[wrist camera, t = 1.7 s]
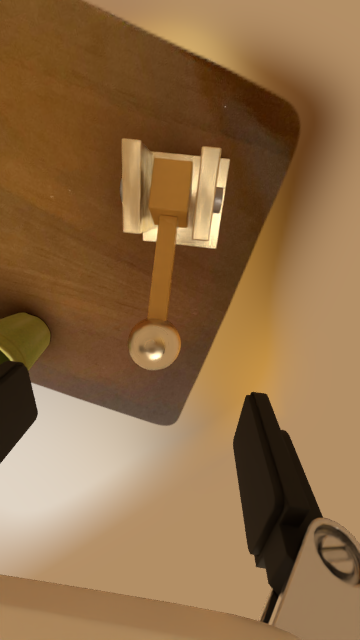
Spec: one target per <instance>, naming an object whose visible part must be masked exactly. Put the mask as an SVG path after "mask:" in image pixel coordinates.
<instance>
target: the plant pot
mask: <svg viewBox="0 0 360 640" xmlns="http://www.w3.org/2000/svg"><path fill="white" fill-rule="evenodd" d="M50 336H51V334H50V331H49V329H48V327H47V325H46V324H45V323H44V322H43V321H42V320H41V319H40V318H38V317H36V316H32V315H29V314H27V313H17V314H14V315H11V316H8V317H5V318H2V319H0V365H1V364H2V363H3V362H5V361H15V362H22V363H23V364H24V365H25V366H26V367H27V369H28V371H29V370H30V368H31V367H32V366H33V364H34V363H35V362H36V361H37V359H38V358H39V357H40V355H41V354H42V353H43V352H44V351H45V349H46V348H47V347H48V345H49V343H50Z"/></svg>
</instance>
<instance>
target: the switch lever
mask: <svg viewBox="0 0 360 640" xmlns="http://www.w3.org/2000/svg"><path fill="white" fill-rule="evenodd" d="M192 178H193V162H192V161H183V160H173V159H162V158H154V162H153V171H152V179H151V188H150V196H149V205H148V207H149V210H150V213H151V216H152V219H153V222H154V224H155V225H158V231H157V240H156V248H155V257H154V265H153V274H152V282H151V291H150V299H149V308H148V316H147V318H146V319H144V320H142V321H140V322H138V323H137V324H136V325H135V326H134V327H133V329H132V330H131V332H130V334H129V337H128V351H129V354H130V356H131V358H132V359H133V360H134V362H135V363H136V364H138V365H139V366H140V367H142V368H145V369H148V370H160V369H163V368H166V367H168V366H169V365H170V364H172V363H173V362H174V361H175V359H176V358H177V356H178V354H179V352H180V347H181V339H180V335H179V333H178V331H177V329H176V328H175V326H174V325H173V324H172V323H171V322H169V321H168V320H167V316H168V308H169V299H170V291H171V282H172V274H173V265H174V257H175V248H176V240H177V232H178V227H180V228H187V226H188V218H189V210H190V201H191V193H192Z"/></svg>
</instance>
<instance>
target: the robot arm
mask: <svg viewBox="0 0 360 640" xmlns="http://www.w3.org/2000/svg"><path fill="white" fill-rule="evenodd" d="M37 414H38V411H37V407H36V403H35V398H34V394H33V390H32V386H31V381H30V377H29V373H28V369H27V367H26V366H25V365H24V364H23V363H22V362H15V361H5V362H3V363H2V364H1V365H0V463H1V462H2V461H3V459H4V458H5V457H6V456H7V455H8V453H9V452H10V451H11V450H12V448H13V447H14V446H15V445H16V443H17V442H18V441H19V440H20V438H21V437H22V436H23V435H24V434H25V432H26V431H27V430H28V429H29V427H30V426H31V425H32V424H33V422H34V421H35V420H36V418H37ZM233 449H234V455H235V462H236V469H237V476H238V483H239V490H240V497H241V503H242V510H243V517H244V524H245V531H246V538H247V544H248V549H249V552H250V554H253V555H254V556H255V562H256V567H260V568H266V572H267V578H268V583H269V584H270V586H271V590H270V593H269V595H268V597H267V600H266V602H265V604H264V607H263V610H262V612H261V615H260V617H259V619H258V621H256V620H252V619H249V618H245V617H241V616H237V615H233V614H228V613H223V612H217V611H212V610H207V609H202V608H197V607H192V606H186V605H181V604H176V603H170V602H164V601H158V600H152V599H146V598H140V597H134V596H128V595H122V594H116V593H110V592H105V591H98V590H93V589H87V588H80V587H74V586H68V585H62V584H56V583H49V582H43V581H37V580H31V579H24V578H19V577H12V576H6V575H0V640H360V544H359V542H358V541H357V540H356V538H355V537H354V536H353V535H352V534H351V533H350V532H349V531H348V530H347V529H346V528H344V527H343V526H341V525H340V524H338V523H337V522H335V521H332V520H330V519H328V518H323V517H322V514H321V512H320V509H319V507H318V504H317V502H316V500H315V497H314V495H313V492H312V490H311V487H310V485H309V483H308V480H307V478H306V475H305V473H304V470H303V468H302V465H301V463H300V460H299V458H298V456H297V453H296V451H295V448H294V446H293V444H292V441H291V439H290V436H289V435H288V433H287V432H286V431H284V430H280V427H279V425H278V422H277V419H276V417H275V414H274V411H273V409H272V406H271V403H270V401H269V398H268V396H267V394H264V393H256V392H252V393H251V395H246V397H245V401H244V404H243V408H242V411H241V415H240V418H239V422H238V426H237V429H236V432H235V436H234V441H233Z"/></svg>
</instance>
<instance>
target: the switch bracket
mask: <svg viewBox="0 0 360 640" xmlns="http://www.w3.org/2000/svg"><path fill="white" fill-rule="evenodd" d="M221 151H222V150H221V148H219V147H208V146H203V147H202V148H201V156H195V155H185V154H174V153H164V152H153V151H149V150H148V148H147V147H146V146H145V145H144V143H143V142H142V141H141V140H136V139H126V138H122V179H121V182H120V197H121V200H122V203H123V232H124V233H134V234H141V233H143V241H149V242H156V240H157V231H158V225H155V224H154V222H153V219H152V216H151V213H150V210H149V207H148V205H149V196H150V188H151V179H152V171H153V162H154V158H162V159H173V160H183V161H192V162H193V178H192V193H191V201H190V210H189V218H188V226H187V228H180V227H178V232H177V240H176V244H177V245H186V246H195V247H204V248H214V249H216V248H217V241H218V235H219V229H220V222H221V216H222V209H223V203H224V197H225V190H226V184H227V178H228V171H229V165H230V159H227V158H221Z"/></svg>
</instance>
